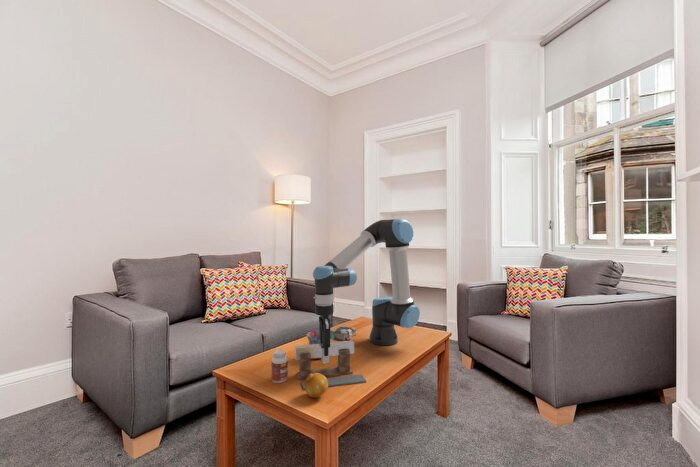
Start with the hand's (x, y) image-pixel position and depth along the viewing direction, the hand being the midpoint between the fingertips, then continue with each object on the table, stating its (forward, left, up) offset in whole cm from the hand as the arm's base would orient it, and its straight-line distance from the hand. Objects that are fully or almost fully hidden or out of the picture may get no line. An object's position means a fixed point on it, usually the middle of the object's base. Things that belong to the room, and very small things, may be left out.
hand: (325, 361), depth 135 cm
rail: (0, 0, +2) cm, 2 cm away
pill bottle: (+18, +1, -5) cm, 19 cm away
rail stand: (0, 0, -5) cm, 5 cm away
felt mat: (-2, +9, -5) cm, 10 cm away
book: (-18, -44, -6) cm, 48 cm away
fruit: (+6, +18, -5) cm, 20 cm away
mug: (-1, -20, -5) cm, 21 cm away
